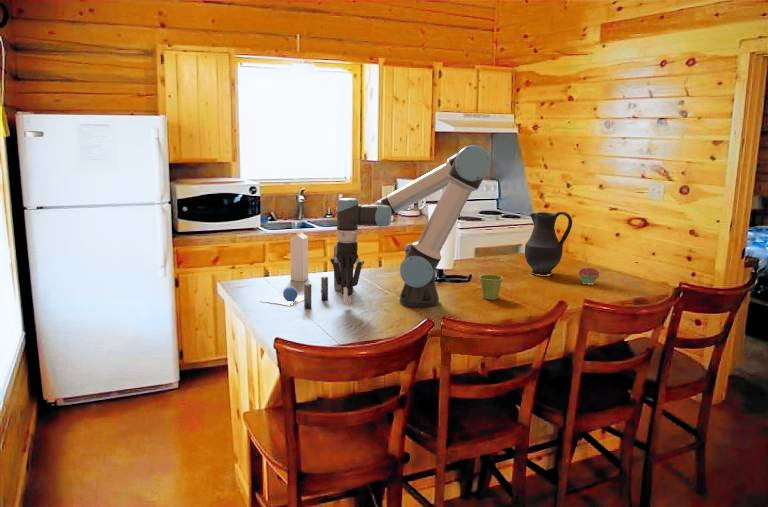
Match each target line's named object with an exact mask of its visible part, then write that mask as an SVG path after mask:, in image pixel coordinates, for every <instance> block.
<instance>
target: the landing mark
mask: <svg viewBox="0 0 768 507" xmlns="http://www.w3.org/2000/svg"><path fill="white" fill-rule="evenodd" d="M303 300H304V295H299V294H298V295H297V298H296V299H295V300H294V301H295V302H294V301H293V302H294V303H293V306H294V304H295V305H296V303H297V304H298V303H301V302H304V301H303ZM290 305H291V304H290ZM281 306H284V305H283V304H282V305H281Z"/></svg>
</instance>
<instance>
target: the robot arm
mask: <svg viewBox="0 0 768 507" xmlns="http://www.w3.org/2000/svg"><path fill="white" fill-rule="evenodd" d="M491 165H492V159H491V156H490V153H489V151H488V150H487V149H486V148H484V147H483V146H482V145H481V144H476V143H475V144H474V143H473V144H472V143H471V144H468V145H465V146H464V147H462V148H461V149H460V150H459V151H457V153H454V155H452V156H450V157H448V158H447V160H446V162H445V163H444V164H441V165H439V166H438V167H436V168H434V169H433V170H431V171H430V172H427V173H426V174H424V175H422V176H420V177H418V178H416V179H415V180H413V181H411V182H409V183H407V184H406V185H404V186H402V187H400V188H398V189H396V190H395V191H393V192H391V193H390V194H388V195H386V196H383V197H382V198H380V199H378V200H376V201H374V202H373V203H371V204H361V203H359V200H358V199H357V198H354V197H353V198H352V197H343V198H339V199H338V200H337V203H336V204H337V205H336V240H337V242H336V245H337V254H336V257H335V258H334V257H333V258H331V259H330V260H329V261H330V262H331V264H332V267H333V268H332V269H333V274H334V273H335V278H336V282H337V284H338V285H341V287H342V291H341V295H342V296H343V306H344V305H346V306H348V305H350V304H351V298H352V297H351V296H353V292H354V287H355V286H357V285H358V284H359V280H360V276H361V275H360V274H361V271H362V267H363V265H364V264H365V260H361V259H360V258H359V255H358V251H359V250H358V244H359V243H358V240H359V239H358V234H359V233H358V230H359V229H358V227H359V226H367V227H369V226H371V227H390V225H391V223H392V217H393V216H394V215H395V214H397V213H399V212H401V211H403V210H405V209H407V208H408V207H411V206H412V205H415V204H416V203H418V202H420V201H421V200H423V199H425V198H428V197H429V196H431V195H433V194H435V193H437V192H438V191H440V190H442V189H444V190H443V192H442V194H441V196H440V198H439V200H438V201H437V204H436V206H435V208H434V209H433V212H432V213H431V216H430V218H428V222H427V223H426V225H425V228H424V229H423V231H422V233H421V235H420V237H419V239H418V240H417V241H415V242H412V243H407V244H406V245H405V248H404V252H405V253H404V254H405V256H404V259H403V260H402V262H401V264H400V266H399V275H400V277H401V279H402V281H403V282H404V284H403V286H402V290H401V292H400V295H399V303H400V304H401V305H403V306H406V307H409V308H419V309H422V308H432V307H436V306H437V305H439V303H440V296H439V293H438V289H437V286H436V269H437V267H438V266H439V263H440V262H441V259H442V255H441V250H442V249H443V246H444V245H445V243H446V241H447V240H448V238H449V236H450V234H451V231H452V229H453V228H454V226H455V224H456V223H457V220H458V218H459V216H460V214H461V213H462V210H463V209H464V207H465V205H466V203H467V201H468V199H469V197H470V195H471V194H472V192H474V191H478V190H479V187H480V186H481V185H482V182H483V180H484V179H485V177H486V176H487V175H488V173H489V171H490V169H491ZM338 261H339V262H340V267H339V263H338ZM355 265H356V266H355ZM354 267H355V269H354ZM340 268H341V272H340ZM346 285H347V286H346Z"/></svg>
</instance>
